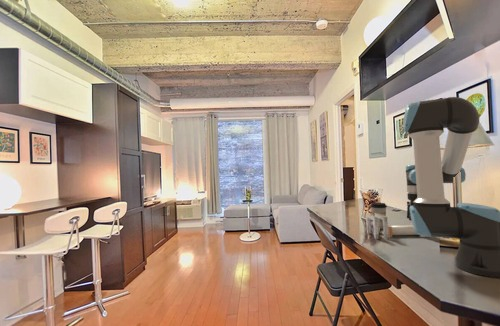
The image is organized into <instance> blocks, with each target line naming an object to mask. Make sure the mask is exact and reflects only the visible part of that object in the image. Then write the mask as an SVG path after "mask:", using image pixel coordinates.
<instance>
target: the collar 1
mask: <svg viewBox="0 0 500 326" xmlns="http://www.w3.org/2000/svg"><path fill="white" fill-rule="evenodd" d="M371 220H372V225H373V238H374V239H375V240H378V239H379V234H378V220H377V217H376V216H374V215H372V213H370V212H366V213H365V224H366V226H365V227H366V233H367V234H368V235H371V234H372V229H371V228H372V227H371Z"/></svg>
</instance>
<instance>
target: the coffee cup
mask: <svg viewBox="0 0 500 326" xmlns="http://www.w3.org/2000/svg"><path fill="white" fill-rule="evenodd" d="M369 207H370V209H371V214H372V215H374V216H375V213H379V214H382V215H384V216H386V217H387V207H388V206H387V204H386V203H385V202H371V203H370V205H369ZM379 223H380V230H383V220H382V219H380V218H379Z"/></svg>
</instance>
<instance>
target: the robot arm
mask: <svg viewBox="0 0 500 326" xmlns="http://www.w3.org/2000/svg"><path fill="white" fill-rule="evenodd" d="M479 123H480V114H479V111H478V109H477V107H476V106H475V105H474V104H473V103H472V102H470V101H469V100H467V99H466V98H463V97H459V96H458V97H457V96H450V97H443V98H437V99H428V100H421V101H419V100H418V101H416V102H410V103H408V104H407V105H406V107H405V111H404V117H403V132H405V133H407V134H408V137H409V138H411V139H412V143H413V155H414V156H413V159H414V164H409V165H406V166H405V176H406V192H407V194H406V195H407V200H408V201H406V206H407V208H406V218H407V219H408V220H409V225H413V227H414V230H415V232H416V233H417V234H418V235H417V236H420V238H426V237H429V238H445V239H459V246H458V248H457V252H456V255H455V257H454V264H455V266H456V267H457V268H459V269H461V270H463V271H466V272H468V273H470V274H474V275H478V274H479V276H482V275H484V276H483V277H488V276H490V277H489V278H496V277H500V210H499V209H498V208H496V207H492V206H488V205H483V204H477V203H468V202H457V204H456V206H451V202H450V201H449V200H448V199H447V198H446V196H445V187H444V184H454V183H453V177H455V176H456V175H457V174H458V173H459V171H460V172H461V183H464V182H465V181H466V177H467V175H466V169H464V168H463V164H464V161H465V157H466V155H467V152H468V148H469V145H470V142H471V138H472V135H473V133H474V132H476V131H477V130H478V127H479V125H480V124H479ZM444 129H447V131H448V132H447V137H446V140H445V145H444V149H443V154H441V143H440V142H441V141H440V136H442V135H443V133H444V132H445V131H444Z"/></svg>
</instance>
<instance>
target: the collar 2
mask: <svg viewBox="0 0 500 326" xmlns="http://www.w3.org/2000/svg"><path fill="white" fill-rule="evenodd" d="M375 216H376V217H377V220H378V235H379V234H381V229H380V223H379V218H380V219H382V220H383V229H382V230H383V231H382V232H383V239H385V240H386V239H387V240H388V239H389V238H390V237H389V236H388V225H389V224H388V216H387V215H386V216H384V215H382V214H379V213H375Z"/></svg>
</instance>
